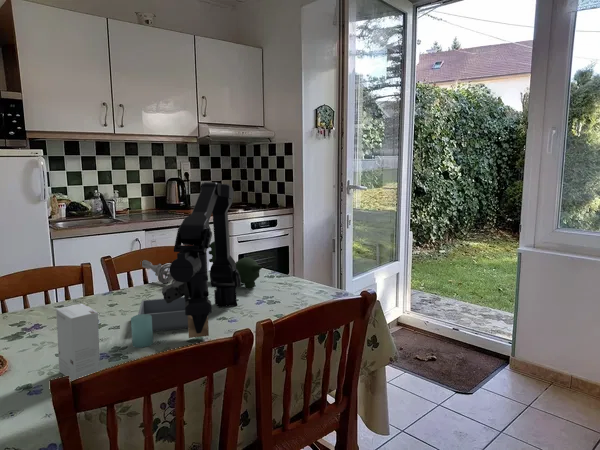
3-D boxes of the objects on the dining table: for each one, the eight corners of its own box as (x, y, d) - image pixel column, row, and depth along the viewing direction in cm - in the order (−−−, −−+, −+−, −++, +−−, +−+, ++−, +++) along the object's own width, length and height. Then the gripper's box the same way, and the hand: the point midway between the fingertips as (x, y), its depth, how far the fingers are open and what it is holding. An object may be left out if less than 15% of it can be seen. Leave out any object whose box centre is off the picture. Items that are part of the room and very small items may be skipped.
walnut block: (207, 328, 116) (206, 310, 115) (208, 335, 111) (208, 317, 110) (188, 330, 114) (187, 312, 114) (188, 337, 110) (187, 319, 109)
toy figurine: (206, 287, 165) (255, 293, 150) (201, 237, 163) (250, 238, 148) (224, 281, 173) (272, 287, 158) (219, 234, 171) (268, 234, 156)
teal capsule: (153, 338, 114) (152, 313, 113) (152, 346, 109) (151, 320, 108) (133, 340, 113) (131, 315, 112) (131, 348, 108) (129, 322, 107)
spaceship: (151, 254, 179) (135, 250, 172) (207, 277, 158) (191, 273, 151) (145, 273, 178) (128, 269, 171) (200, 298, 157) (183, 295, 151)
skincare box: (58, 372, 96) (52, 308, 94) (86, 362, 101) (81, 301, 98) (74, 385, 91) (69, 317, 88) (103, 374, 95) (98, 309, 93)
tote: (200, 310, 135) (200, 295, 134) (203, 326, 122) (202, 309, 122) (142, 316, 130) (141, 300, 130) (138, 333, 118) (137, 315, 117)
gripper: (164, 264, 117) (166, 319, 119) (161, 283, 99) (164, 347, 101) (206, 261, 120) (208, 315, 122) (210, 280, 102) (212, 342, 104)
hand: (198, 329), depth 112 cm, fingers closed on walnut block, 5 cm apart
